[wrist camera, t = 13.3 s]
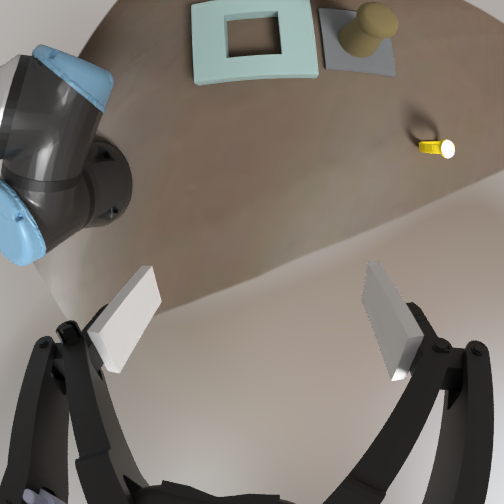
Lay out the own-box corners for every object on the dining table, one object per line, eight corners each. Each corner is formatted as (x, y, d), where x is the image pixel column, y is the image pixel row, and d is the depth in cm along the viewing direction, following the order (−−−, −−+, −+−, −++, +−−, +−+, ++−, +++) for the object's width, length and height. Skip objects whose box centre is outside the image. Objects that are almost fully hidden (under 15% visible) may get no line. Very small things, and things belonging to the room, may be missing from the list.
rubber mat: (325, 69, 31) (326, 68, 31) (318, 9, 27) (318, 7, 26) (394, 77, 30) (396, 76, 30) (385, 18, 26) (386, 17, 25)
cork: (329, 37, 29) (346, 9, 19) (354, 18, 26) (375, -12, 16) (360, 65, 30) (387, 45, 20) (383, 44, 28) (414, 23, 18)
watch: (439, 136, 33) (461, 139, 28) (441, 152, 34) (463, 157, 29) (412, 137, 34) (433, 140, 28) (414, 154, 35) (435, 159, 30)
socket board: (199, 85, 34) (194, 83, 32) (195, 10, 28) (191, 4, 26) (316, 78, 32) (318, 74, 30) (307, 1, 26) (308, -6, 24)
